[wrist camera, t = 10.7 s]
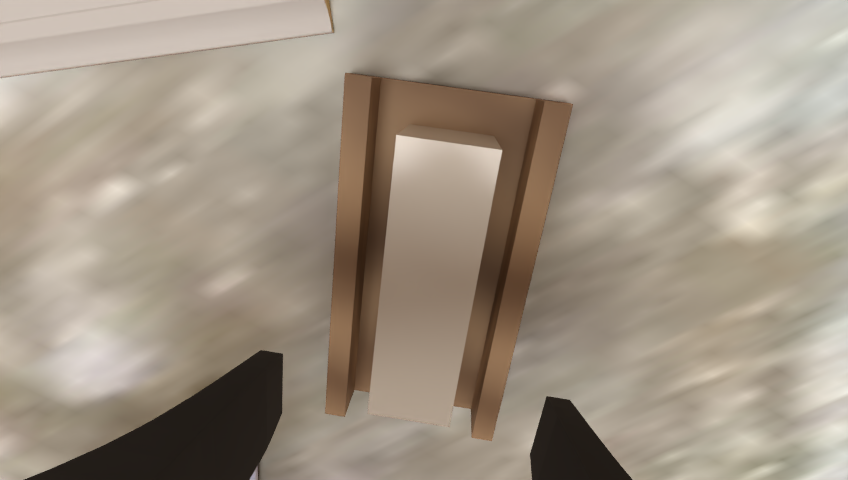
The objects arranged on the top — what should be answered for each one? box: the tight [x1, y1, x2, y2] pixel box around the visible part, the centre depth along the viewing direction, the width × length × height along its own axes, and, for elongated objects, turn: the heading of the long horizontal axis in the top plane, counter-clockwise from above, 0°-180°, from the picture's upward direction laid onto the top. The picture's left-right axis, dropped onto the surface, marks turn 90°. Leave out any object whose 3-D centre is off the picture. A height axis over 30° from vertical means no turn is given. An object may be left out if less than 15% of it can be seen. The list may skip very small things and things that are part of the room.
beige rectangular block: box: [368, 124, 502, 427], centre depth 18 cm, size 12×4×4 cm, turn 173°
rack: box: [325, 73, 573, 441], centre depth 20 cm, size 16×9×3 cm, turn 173°
